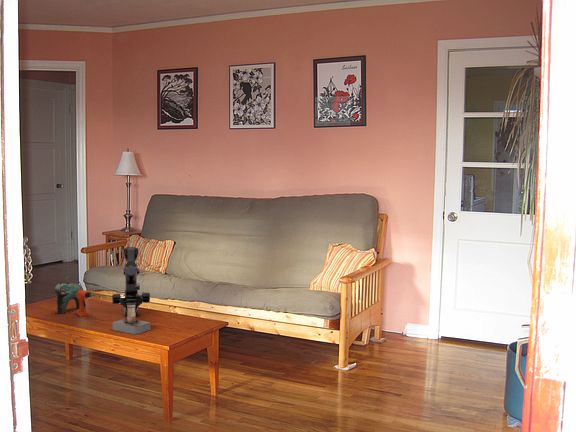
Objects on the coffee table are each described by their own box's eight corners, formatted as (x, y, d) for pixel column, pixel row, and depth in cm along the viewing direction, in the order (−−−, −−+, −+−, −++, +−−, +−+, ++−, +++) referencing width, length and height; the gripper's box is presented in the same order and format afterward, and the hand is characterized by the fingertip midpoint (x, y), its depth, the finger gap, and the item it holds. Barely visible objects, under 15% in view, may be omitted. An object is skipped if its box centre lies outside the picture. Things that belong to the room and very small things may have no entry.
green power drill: (61, 315, 339) (60, 279, 337) (52, 313, 342) (51, 278, 340) (86, 307, 357) (86, 274, 355) (78, 306, 360) (77, 273, 358)
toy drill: (92, 318, 327) (90, 290, 327) (75, 316, 340) (73, 289, 340) (100, 316, 331) (98, 289, 331) (83, 314, 343) (81, 288, 343)
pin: (136, 323, 311) (136, 304, 311) (134, 325, 307) (133, 306, 306) (128, 323, 312) (128, 303, 311) (126, 325, 308) (125, 305, 307)
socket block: (127, 325, 318) (127, 318, 318) (150, 330, 310) (150, 322, 310) (112, 329, 309) (112, 322, 309) (135, 334, 301) (135, 326, 301)
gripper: (112, 278, 309) (111, 304, 299) (149, 277, 314) (150, 302, 304) (112, 290, 317) (112, 316, 308) (149, 289, 322) (150, 314, 312)
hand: (131, 312), depth 308 cm, fingers closed on pin, 4 cm apart
